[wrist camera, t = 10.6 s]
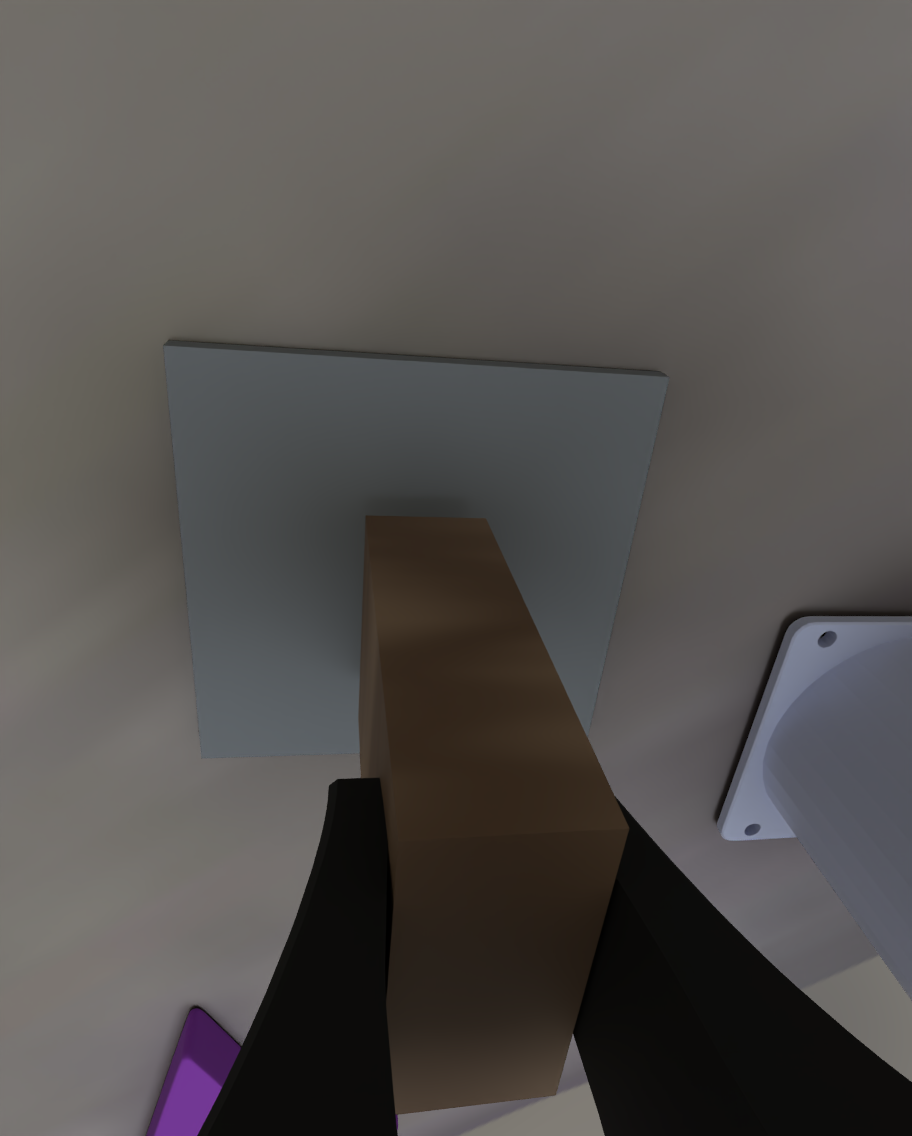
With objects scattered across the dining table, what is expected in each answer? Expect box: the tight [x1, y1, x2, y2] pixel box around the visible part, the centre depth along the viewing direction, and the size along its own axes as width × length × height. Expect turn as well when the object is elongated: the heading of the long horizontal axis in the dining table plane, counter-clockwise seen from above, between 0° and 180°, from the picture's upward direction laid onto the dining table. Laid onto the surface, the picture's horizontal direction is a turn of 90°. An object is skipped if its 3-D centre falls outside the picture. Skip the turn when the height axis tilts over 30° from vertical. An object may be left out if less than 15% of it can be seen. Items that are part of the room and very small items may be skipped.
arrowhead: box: [146, 1008, 398, 1136], centre depth 25 cm, size 10×2×10 cm
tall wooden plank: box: [358, 515, 629, 1115], centre depth 12 cm, size 2×5×8 cm, turn 175°
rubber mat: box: [163, 340, 669, 758], centre depth 17 cm, size 10×10×1 cm
